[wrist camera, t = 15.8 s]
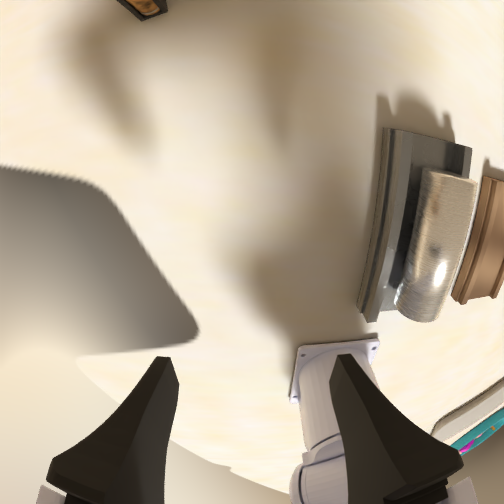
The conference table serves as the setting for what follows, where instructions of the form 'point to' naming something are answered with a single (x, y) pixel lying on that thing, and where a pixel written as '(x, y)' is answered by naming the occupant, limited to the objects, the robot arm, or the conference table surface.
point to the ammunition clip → (145, 8)
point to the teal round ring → (479, 433)
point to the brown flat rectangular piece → (484, 247)
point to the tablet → (469, 413)
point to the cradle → (401, 210)
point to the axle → (435, 243)
